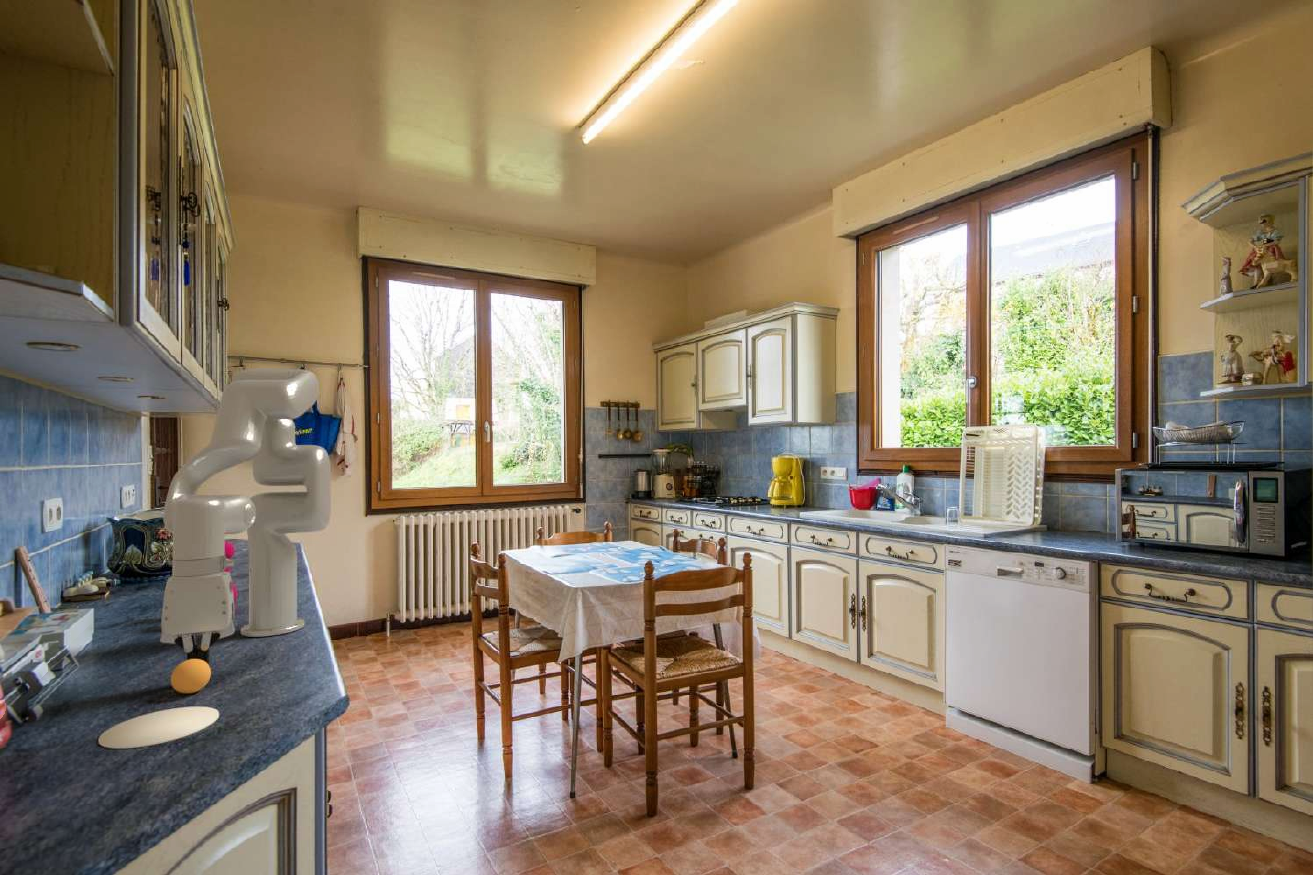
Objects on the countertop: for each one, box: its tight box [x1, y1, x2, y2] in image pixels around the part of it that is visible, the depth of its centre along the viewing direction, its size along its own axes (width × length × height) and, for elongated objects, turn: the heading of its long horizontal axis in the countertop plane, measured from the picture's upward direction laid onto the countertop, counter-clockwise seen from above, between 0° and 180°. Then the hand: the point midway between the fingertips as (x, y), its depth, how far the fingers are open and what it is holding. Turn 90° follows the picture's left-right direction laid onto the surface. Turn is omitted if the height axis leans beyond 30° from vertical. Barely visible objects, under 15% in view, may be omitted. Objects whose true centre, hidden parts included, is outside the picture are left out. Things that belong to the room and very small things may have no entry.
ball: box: [170, 659, 212, 694], centre depth 108 cm, size 6×6×6 cm
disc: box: [98, 706, 220, 750], centre depth 94 cm, size 14×14×1 cm
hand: (198, 672), depth 112 cm, fingers closed
